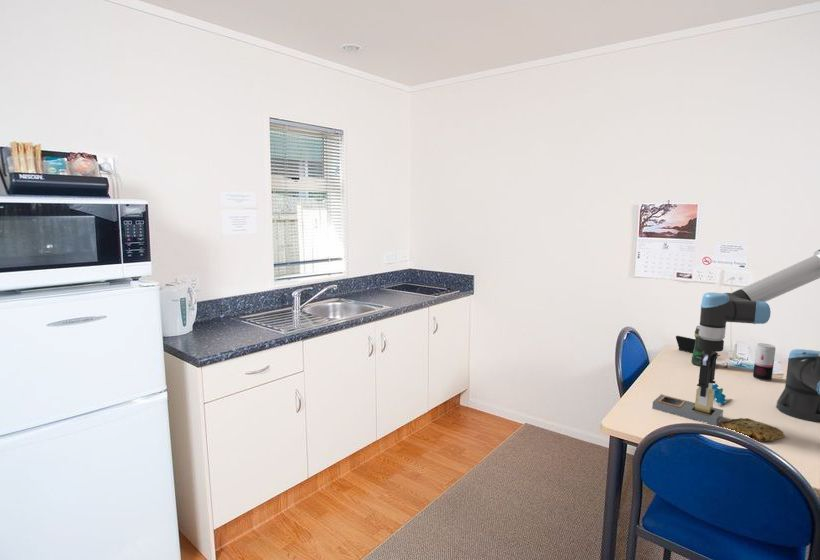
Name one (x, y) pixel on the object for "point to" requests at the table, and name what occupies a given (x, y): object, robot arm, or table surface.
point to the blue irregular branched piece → (718, 394)
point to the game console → (686, 344)
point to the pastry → (754, 429)
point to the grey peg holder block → (686, 409)
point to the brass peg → (709, 406)
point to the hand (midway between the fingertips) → (704, 402)
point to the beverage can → (764, 362)
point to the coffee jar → (697, 350)
